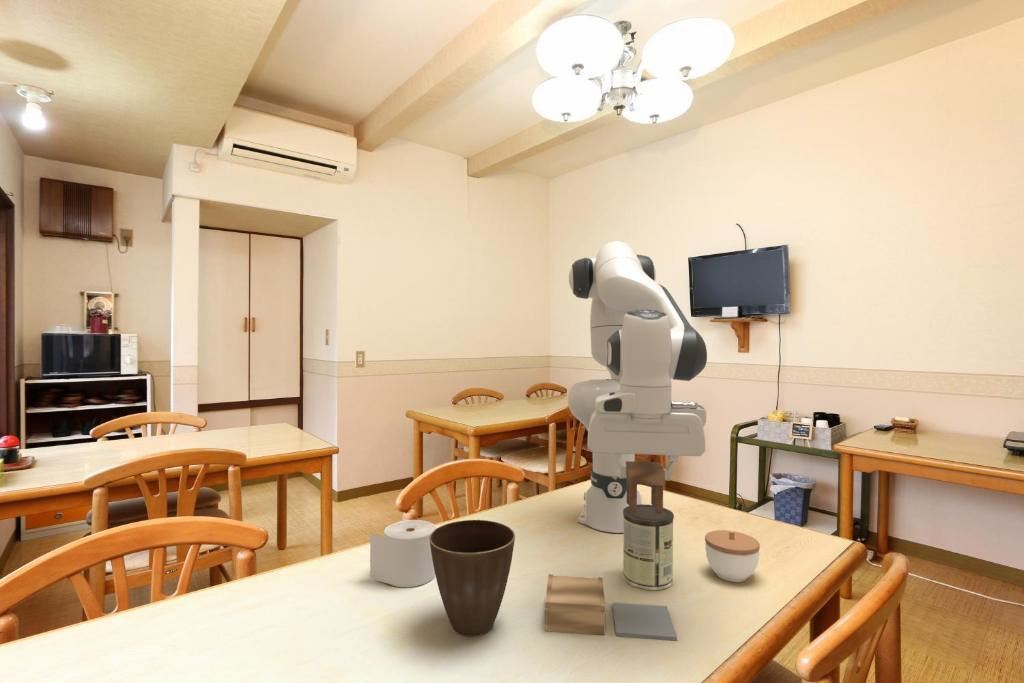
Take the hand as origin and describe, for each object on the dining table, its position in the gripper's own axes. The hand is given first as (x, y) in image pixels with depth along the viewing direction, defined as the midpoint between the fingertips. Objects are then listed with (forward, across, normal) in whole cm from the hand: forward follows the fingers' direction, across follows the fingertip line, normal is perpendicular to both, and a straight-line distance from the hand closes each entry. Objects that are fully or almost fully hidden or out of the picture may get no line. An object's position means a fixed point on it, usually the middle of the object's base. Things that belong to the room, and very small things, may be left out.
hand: (644, 478), depth 93 cm
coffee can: (+26, -3, -17) cm, 31 cm away
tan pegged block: (+5, 0, 0) cm, 5 cm away
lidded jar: (+26, -21, -21) cm, 39 cm away
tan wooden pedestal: (+26, +12, 0) cm, 28 cm away
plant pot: (+26, +30, +5) cm, 40 cm away
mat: (+26, 0, 0) cm, 26 cm away
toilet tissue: (+26, +47, -11) cm, 55 cm away
